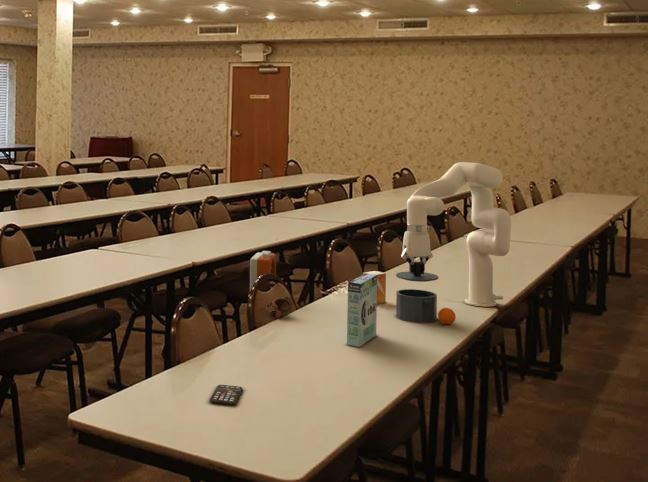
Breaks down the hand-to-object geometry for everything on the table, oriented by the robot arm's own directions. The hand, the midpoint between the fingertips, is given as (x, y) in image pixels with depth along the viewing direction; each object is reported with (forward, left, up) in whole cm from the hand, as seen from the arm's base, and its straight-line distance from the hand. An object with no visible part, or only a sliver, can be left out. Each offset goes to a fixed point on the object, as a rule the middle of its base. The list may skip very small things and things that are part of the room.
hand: (417, 273), depth 334 cm
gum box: (+36, +29, -18) cm, 50 cm away
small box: (+5, -28, -18) cm, 34 cm away
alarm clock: (+50, -45, -18) cm, 70 cm away
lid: (0, 0, -2) cm, 2 cm away
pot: (0, 0, -18) cm, 18 cm away
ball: (-7, +11, -18) cm, 22 cm away
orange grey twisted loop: (+55, -10, -18) cm, 59 cm away
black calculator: (+101, +81, -18) cm, 131 cm away
